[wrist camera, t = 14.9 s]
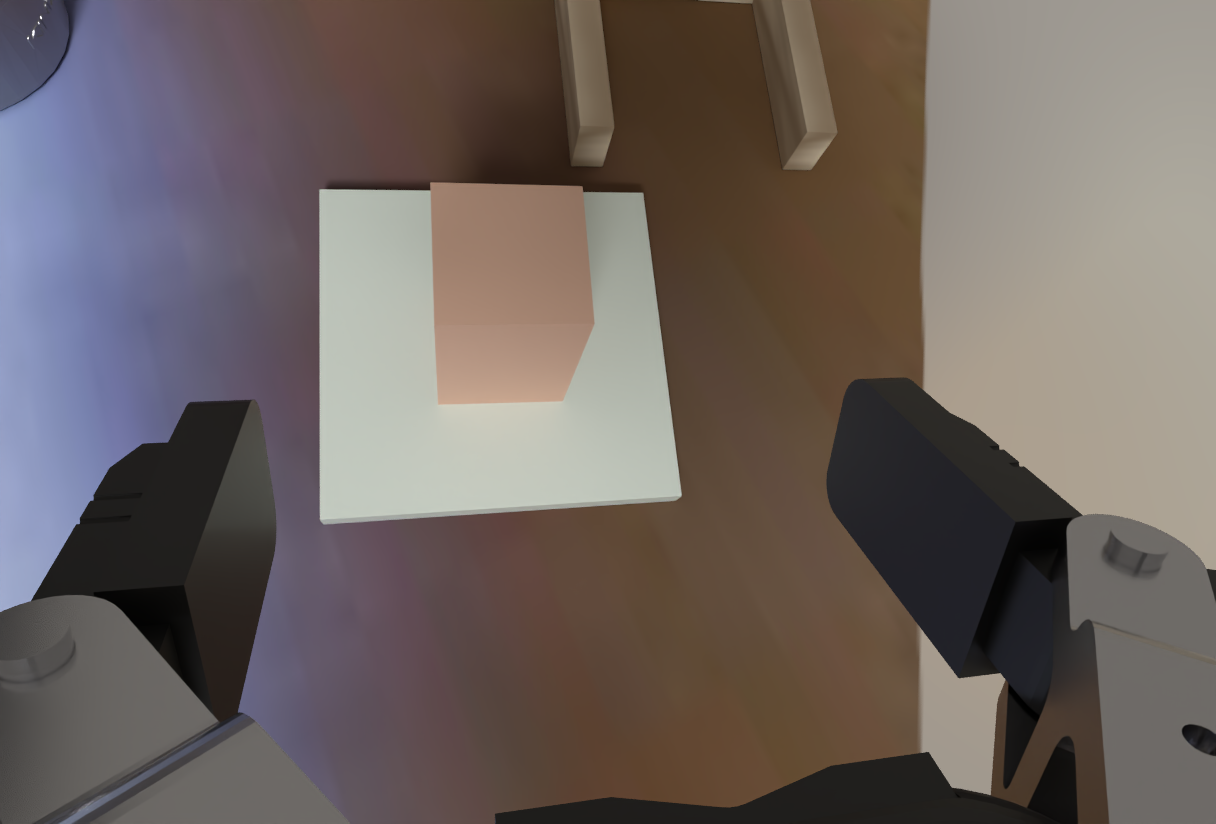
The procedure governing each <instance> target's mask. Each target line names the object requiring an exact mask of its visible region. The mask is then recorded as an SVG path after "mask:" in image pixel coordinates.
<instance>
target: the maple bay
mask: <svg viewBox="0 0 1216 824" xmlns="http://www.w3.org/2000/svg"><path fill="white" fill-rule="evenodd" d="M700 1H717V2H734V3H751V4H752V6H753V12H754V17H755V23H756V28H757V33H758V39H759V44H760V50H761V55H762V61H763V66H764V72H765V77H766V83H767V88H768V93H769V99H770V104H771V110H772V115H773V121H774V126H775V132H776V137H777V143H778V148H779V154H780V159H781V164H782V170H811V169H812V168H813V166H814V165H815V164H816V162H817V161H818V159H819V158H820V157H821V155H822V154H823V152H824V151H825V150H826V148H827V147H828V146H829V144H830V143H831V141H832V140H833V139H834V137H835V136H836V134H837V133H838V132H837V127H836V123H835V118H834V113H833V108H832V103H831V99H830V94H829V89H828V84H827V79H826V75H825V70H824V65H823V60H822V55H821V51H820V46H819V41H818V36H817V31H816V26H815V22H814V17H813V12H812V7H811V2H810V0H700ZM554 2H555V12H556V22H557V32H558V42H559V52H560V62H561V72H562V82H563V92H564V102H565V112H566V122H567V132H568V142H569V152H570V162H571V166H597V167H603V163H604V160H605V157H606V153H607V150H608V147H609V143H610V140H611V137H612V133H613V130H614V118H613V110H612V102H611V93H610V85H609V77H608V68H607V60H606V51H605V43H604V35H603V26H602V18H601V9H600V1H599V0H554Z"/></svg>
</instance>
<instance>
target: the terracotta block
mask: <svg viewBox="0 0 1216 824" xmlns="http://www.w3.org/2000/svg"><path fill="white" fill-rule="evenodd" d="M430 190H431V226H432V262H433V299H434V331H435V352H436V373H437V393H438V405H444V404H481V403H518V402H555V401H563V399H564V397H565V394H566V392H567V390H568V387H569V385H570V382H571V380H572V377H573V375H574V373H575V370H576V368H577V365H578V363H579V360H580V358H581V356H582V353H583V351H584V348H585V346H586V343H587V341H588V339H589V336H590V334H591V331H592V329H593V326H594V324H595V322H594V311H593V300H592V288H591V277H590V265H589V254H588V243H587V231H586V220H585V208H584V197H583V186H556V185H516V184H475V183H435V182H430Z"/></svg>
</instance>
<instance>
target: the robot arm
mask: <svg viewBox="0 0 1216 824" xmlns="http://www.w3.org/2000/svg"><path fill="white" fill-rule="evenodd" d="M68 37H69V16H68V13H67V10H66V7H65V4H64V1H63V0H0V110H2V109H4V108H6V107H9V106H11V105H13V104H15V103H17V102H19V101H21V100H22V99H24V98H25V97H26V96H28V95H29V94H31V93H32V92H33V91H35V90H36V89H37V88H39V87H40V86H41V85H42V84H43V83H44V82H45V81H46V80H47V78H48V77H49V76H50V75H51V74H52V73H53V72H54V71H55V69H56V67H57V66H58V64H59V62H60V60H61V58H62V56H63V55H64V53H65V49H66V45H67V41H68ZM827 494H828V499H829V503H830V505H831V508H832V510H833V512H834V514H835V515H836V517H837V518H838V519H839V521H840V522H841V523H842V525H843V526H844V527H845V529H846V530H847V531H848V533H849V534H850V535H851V537H852V538H853V539H854V540H855V542H856V543H857V544H858V546H859V547H860V548H861V550H862V551H863V552H864V554H865V555H866V556H867V558H868V559H869V560H870V562H871V563H872V564H873V566H874V567H875V568H876V570H877V571H878V572H879V574H880V575H881V576H882V577H883V579H884V580H885V581H886V583H887V584H888V585H889V587H890V588H891V589H892V591H893V592H894V593H895V595H896V596H897V597H898V599H899V600H900V601H901V603H902V604H903V605H904V607H905V608H906V609H907V611H908V612H909V613H910V615H911V616H912V617H913V618H914V620H915V621H916V622H917V624H918V625H919V626H920V628H921V629H922V630H923V632H924V633H925V634H926V636H927V637H928V638H929V640H930V641H931V642H932V644H933V645H934V646H935V648H936V649H937V650H938V652H939V653H940V654H941V656H942V657H943V658H944V659H945V661H946V662H947V663H948V665H949V666H950V667H951V669H952V670H953V671H954V673H955V674H956V675H957V677H958V678H964V677H972V676H980V675H989V674H997V673H1001V674H1002V676H1003V677H1004V678H1005V679H1006V681H1005V683H1004V686H1003V688H1002V690H1001V693H1000V695H999V698H998V703H997V714H996V728H995V742H994V757H993V771H992V785H991V795H987V794H983V793H978V792H973V791H968V790H963V789H957V788H952V787H951V786H950V784H949V783H948V781H947V780H946V778H945V777H944V775H943V774H942V772H941V770H940V769H939V767H938V766H937V764H936V763H935V761H934V760H933V758H932V757H931V755H930V754H929V752H925V753H918V754H911V755H904V756H897V757H890V758H883V759H876V760H869V761H862V762H855V763H848V764H841V765H834V766H830V767H827V768H825V769H823V770H821V771H818V772H816V773H814V774H812V775H809V776H807V777H805V778H803V779H800V780H798V781H796V782H794V783H791V784H789V785H787V786H785V787H782V788H780V789H778V790H776V791H773V792H771V793H769V794H767V795H764V796H762V797H760V798H758V799H755V800H753V801H751V802H749V803H746V804H744V805H741V806H737V807H731V808H726V807H711V806H701V805H690V804H679V803H668V802H657V801H646V800H636V799H625V798H614V797H609V798H602V799H595V800H588V801H581V802H574V803H567V804H560V805H553V806H546V807H539V808H532V809H525V810H518V811H511V812H504V813H497V814H495V824H1216V570H1210V569H1206V568H1205V565H1204V564H1203V562H1202V561H1201V559H1200V558H1199V557H1198V556H1197V555H1196V554H1195V553H1194V552H1193V551H1192V550H1191V549H1190V548H1188V547H1187V546H1186V545H1185V544H1183V543H1182V542H1180V541H1179V540H1177V539H1176V538H1174V537H1172V536H1170V535H1169V534H1167V533H1165V532H1163V531H1161V530H1158V529H1157V528H1154V527H1152V526H1149V525H1147V524H1144V523H1141V522H1138V521H1135V520H1132V519H1128V518H1123V517H1119V516H1112V515H1104V514H1091V515H1084V516H1083V515H1082V514H1081V513H1079V512H1078V511H1077V510H1076V509H1075V508H1073V507H1072V506H1071V505H1070V504H1069V503H1067V502H1066V501H1065V500H1064V499H1062V498H1061V497H1060V496H1059V495H1058V494H1057V493H1055V492H1054V491H1053V490H1052V489H1050V488H1049V487H1048V486H1047V485H1046V484H1045V483H1043V482H1042V481H1041V480H1040V479H1039V478H1037V477H1036V476H1035V475H1034V474H1033V473H1031V472H1030V471H1029V470H1028V469H1027V468H1025V467H1019V462H1018V461H1017V460H1016V459H1015V458H1013V457H1012V456H1011V455H1010V454H1009V453H1007V452H1006V451H1005V450H999V445H998V444H997V443H995V442H994V441H993V440H992V439H991V438H989V437H988V436H987V435H986V434H985V433H983V432H982V431H981V430H980V429H979V428H977V427H976V426H975V425H973V424H971V423H969V422H967V421H965V420H963V419H961V418H959V417H957V416H955V415H953V414H951V413H949V412H948V411H947V410H946V409H945V408H944V407H942V406H941V405H940V404H939V403H937V402H936V401H935V400H934V399H933V398H932V397H931V396H929V395H928V394H927V393H926V392H925V391H924V390H922V389H921V388H920V387H919V386H918V385H916V384H915V383H914V382H913V381H912V380H910V379H908V378H878V379H857V380H854V381H853V382H852V383H851V384H850V385H849V386H848V388H847V390H846V393H845V396H844V399H843V404H842V408H841V413H840V417H839V422H838V426H837V431H836V435H835V439H834V444H833V448H832V453H831V457H830V462H829V466H828V471H827ZM93 496H94V501H90V502H89V504H88V505H87V507H86V509H85V511H84V512H83V514H82V516H81V517H80V524H76V526H75V527H74V529H73V531H72V533H71V534H70V536H69V538H68V539H67V541H66V543H65V544H64V546H63V548H62V549H61V551H60V553H59V555H58V556H57V558H56V560H55V561H54V563H53V565H52V566H51V568H50V570H49V571H48V573H47V575H46V577H45V578H44V580H43V582H42V583H41V585H40V587H39V588H38V590H37V592H36V593H35V595H34V597H33V599H32V600H31V601H30V602H27V603H23V604H20V605H17V606H15V607H12V608H9V609H7V610H4V611H2V612H0V824H350V823H349V821H348V820H347V819H346V818H345V817H344V816H343V815H342V814H341V813H340V812H339V811H338V809H337V808H336V807H335V806H334V805H333V804H332V803H331V802H330V801H329V800H328V799H327V798H326V796H325V795H324V794H323V793H322V792H321V791H320V790H319V789H318V788H317V787H316V786H315V785H314V783H313V782H312V781H311V780H310V779H309V778H308V777H307V776H306V775H305V774H304V773H303V771H302V770H301V769H300V768H299V767H298V766H297V765H296V764H295V763H294V762H293V761H292V760H291V758H290V757H289V756H288V755H287V754H286V753H285V752H284V751H283V750H282V749H281V748H280V746H279V745H278V744H277V743H276V742H275V741H274V740H273V739H272V738H271V737H270V736H269V735H268V733H267V732H266V731H265V730H264V729H263V728H262V727H261V726H260V725H259V724H258V723H257V722H256V721H255V720H253V719H252V718H251V717H250V716H248V715H246V714H244V713H240V712H239V713H238V708H239V704H240V700H241V695H242V691H243V687H244V682H245V678H246V674H247V669H248V665H249V661H250V656H251V652H252V648H253V643H254V639H255V635H256V630H257V626H258V622H259V617H260V613H261V609H262V604H263V600H264V596H265V591H266V587H267V583H268V579H269V574H270V570H271V566H272V561H273V557H274V552H275V544H276V511H275V502H274V496H273V489H272V483H271V476H270V470H269V463H268V457H267V450H266V444H265V437H264V431H263V424H262V418H261V413H260V409H259V406H258V404H257V402H256V401H255V400H233V401H205V402H190V403H188V405H187V406H186V408H185V410H184V412H183V414H182V416H181V418H180V420H179V422H178V424H177V426H176V428H175V430H174V432H173V434H172V436H171V438H170V440H169V442H168V443H147V444H142V445H140V446H139V447H138V448H136V449H135V450H133V451H132V452H131V453H129V454H128V455H127V456H125V457H124V458H123V459H121V460H120V461H118V462H117V463H116V464H114V465H113V466H112V467H110V468H109V470H108V472H107V473H106V475H105V477H104V478H103V480H102V482H101V483H100V485H99V487H98V489H97V490H96V492H95V494H94V495H93Z"/></svg>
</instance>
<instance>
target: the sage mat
mask: <svg viewBox="0 0 1216 824" xmlns="http://www.w3.org/2000/svg"><path fill="white" fill-rule="evenodd" d="M583 197H584V208H585V220H586V231H587V243H588V254H589V265H590V277H591V288H592V300H593V311H594V322H595V324H594V326H593V329H592V331H591V334H590V336H589V339H588V341H587V343H586V346H585V348H584V351H583V353H582V356H581V358H580V360H579V363H578V365H577V368H576V370H575V373H574V375H573V377H572V380H571V382H570V385H569V387H568V390H567V392H566V394H565V397H564V399H563V401H555V402H518V403H481V404H444V405H438V393H437V373H436V352H435V331H434V299H433V262H432V226H431V191H424V190H328V189H320V520H321V522H322V523H323V524H336V523H351V522H366V521H381V520H396V519H411V518H426V517H441V516H455V515H470V514H485V513H500V512H515V511H530V510H545V509H560V508H574V507H589V506H604V505H619V504H634V503H649V502H664V501H676V500H677V499H678V498H680V497H681V496H682V495H681V487H680V479H679V471H678V463H677V455H676V448H675V440H674V432H673V424H672V416H671V408H670V400H669V393H668V385H667V377H666V369H665V361H664V353H663V345H662V338H661V330H660V322H659V314H658V306H657V298H656V290H655V283H654V275H653V267H652V259H651V251H650V243H649V235H648V228H647V220H646V212H645V204H644V196H643V193H616V192H583Z"/></svg>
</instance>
